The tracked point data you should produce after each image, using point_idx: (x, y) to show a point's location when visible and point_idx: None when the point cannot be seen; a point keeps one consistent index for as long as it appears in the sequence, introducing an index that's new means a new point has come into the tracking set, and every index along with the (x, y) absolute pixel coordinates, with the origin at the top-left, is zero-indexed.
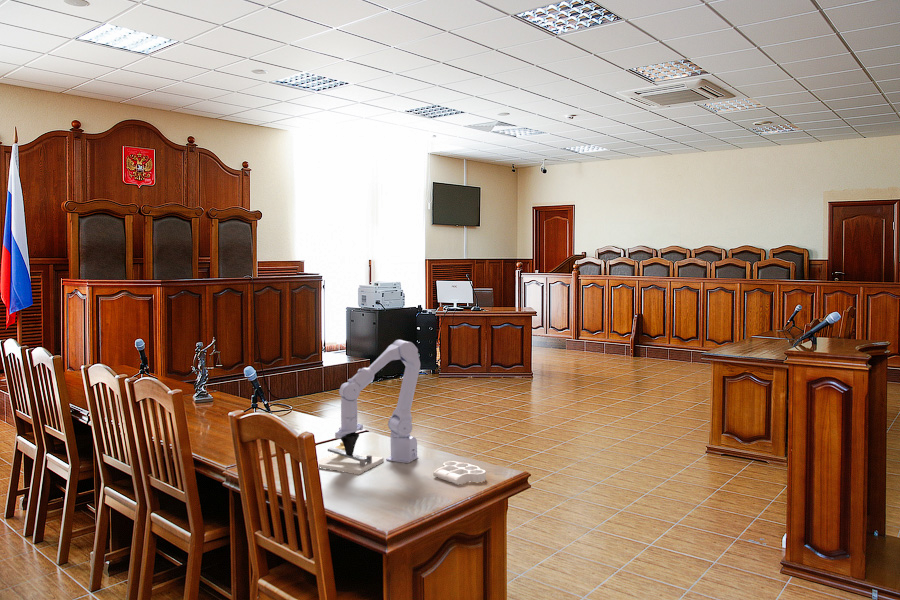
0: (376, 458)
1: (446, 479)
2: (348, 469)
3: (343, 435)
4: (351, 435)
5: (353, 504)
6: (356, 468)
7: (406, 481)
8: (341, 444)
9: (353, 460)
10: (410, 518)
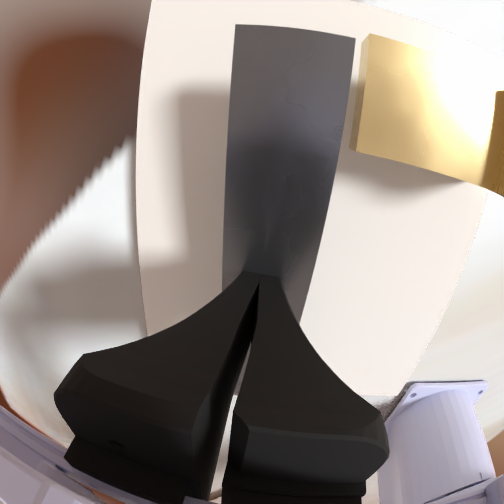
0: (384, 375)
1: (216, 499)
2: (145, 299)
3: (32, 450)
4: (201, 496)
5: (10, 365)
6: None
7: None
8: None
9: (321, 268)
10: (49, 435)
